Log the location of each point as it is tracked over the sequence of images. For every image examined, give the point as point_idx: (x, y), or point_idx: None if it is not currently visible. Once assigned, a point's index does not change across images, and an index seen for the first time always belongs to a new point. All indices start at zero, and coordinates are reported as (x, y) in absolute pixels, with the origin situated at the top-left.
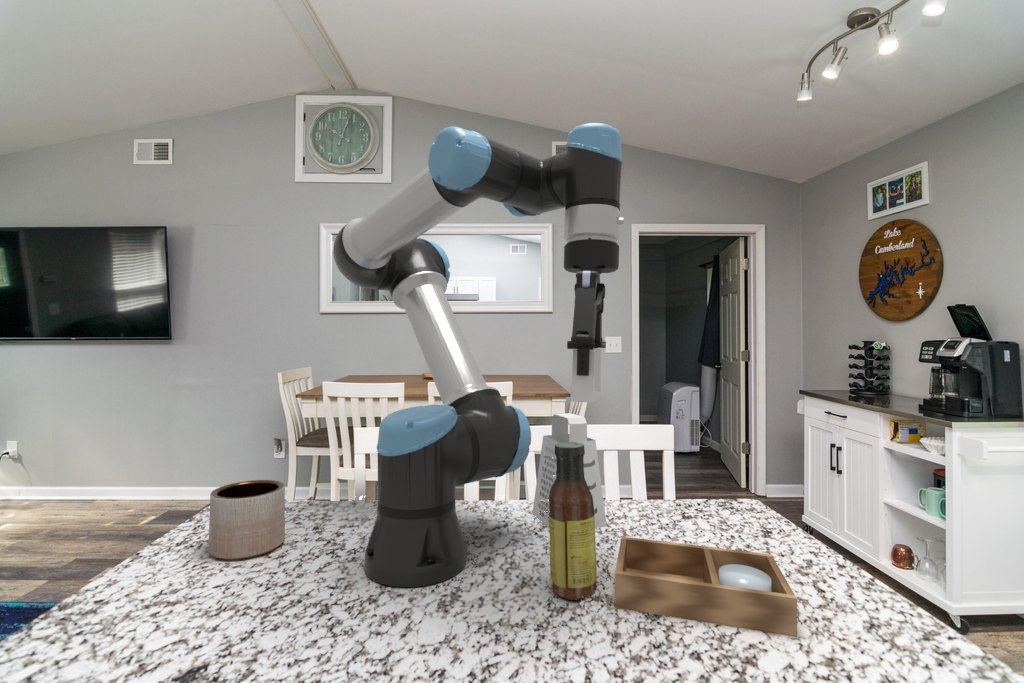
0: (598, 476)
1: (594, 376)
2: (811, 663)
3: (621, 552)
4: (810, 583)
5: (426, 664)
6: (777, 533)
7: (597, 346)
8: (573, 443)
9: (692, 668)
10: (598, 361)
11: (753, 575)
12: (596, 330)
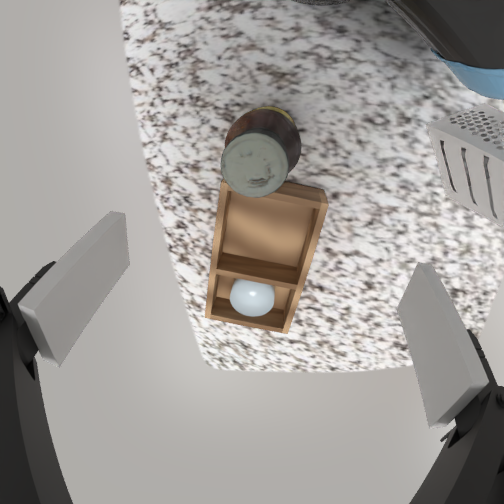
0: (482, 213)
1: (97, 307)
2: (191, 294)
3: (278, 196)
4: (303, 340)
5: (132, 23)
6: (399, 353)
7: (458, 424)
8: (263, 176)
9: (165, 219)
10: (423, 379)
11: (251, 306)
12: (422, 493)
